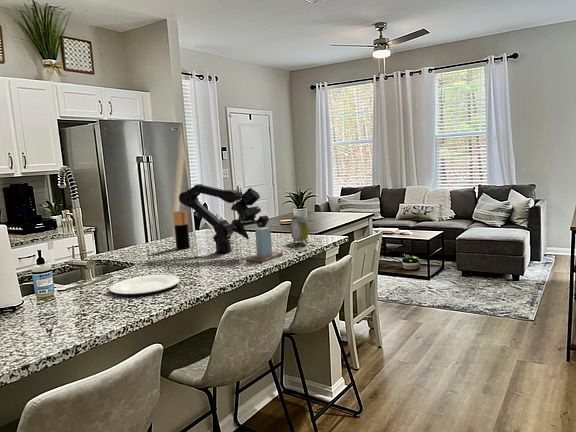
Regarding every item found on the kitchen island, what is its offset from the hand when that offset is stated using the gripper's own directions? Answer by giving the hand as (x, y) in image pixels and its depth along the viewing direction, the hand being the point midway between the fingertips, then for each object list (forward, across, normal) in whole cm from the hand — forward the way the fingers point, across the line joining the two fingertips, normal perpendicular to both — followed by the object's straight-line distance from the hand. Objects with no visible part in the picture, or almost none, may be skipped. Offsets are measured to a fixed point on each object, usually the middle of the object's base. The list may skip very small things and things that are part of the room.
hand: (256, 237), depth 209 cm
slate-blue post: (+9, 0, +2) cm, 10 cm away
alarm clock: (-1, +33, +14) cm, 36 cm away
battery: (-29, -16, +42) cm, 54 cm away
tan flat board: (+10, 0, +3) cm, 11 cm away
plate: (+16, -56, -2) cm, 59 cm away
